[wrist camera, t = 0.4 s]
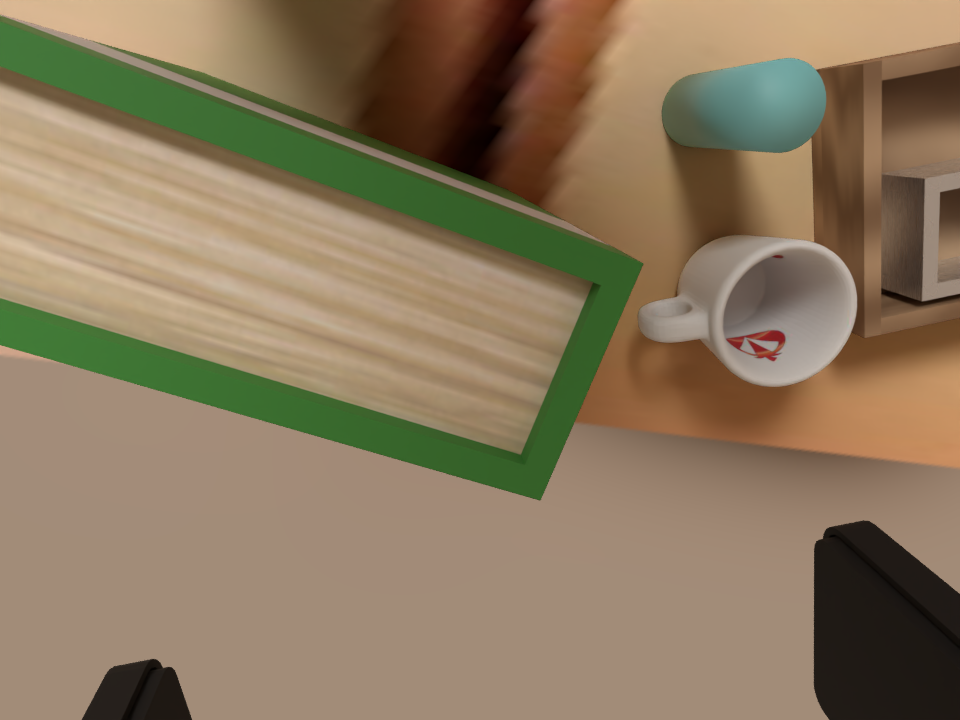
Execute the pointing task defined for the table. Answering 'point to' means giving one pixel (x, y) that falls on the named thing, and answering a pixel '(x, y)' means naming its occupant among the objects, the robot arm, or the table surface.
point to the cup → (760, 307)
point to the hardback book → (289, 265)
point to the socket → (917, 231)
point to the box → (885, 170)
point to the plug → (747, 107)
